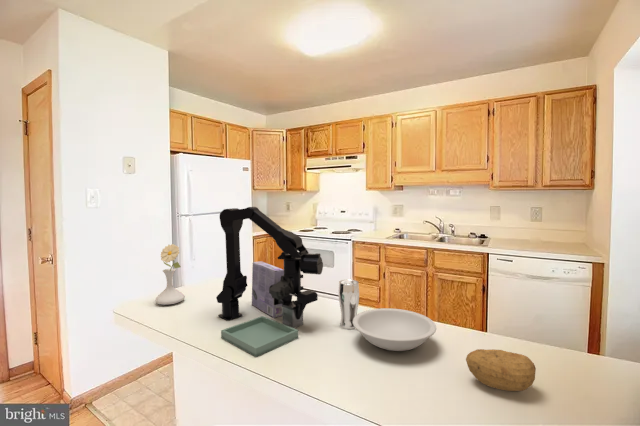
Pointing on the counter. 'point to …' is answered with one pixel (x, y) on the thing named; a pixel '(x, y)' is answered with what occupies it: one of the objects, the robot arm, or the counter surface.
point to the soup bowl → (394, 328)
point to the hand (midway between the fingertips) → (292, 317)
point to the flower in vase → (170, 277)
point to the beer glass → (348, 302)
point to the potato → (501, 369)
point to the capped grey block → (291, 315)
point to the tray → (259, 335)
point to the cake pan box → (266, 288)
